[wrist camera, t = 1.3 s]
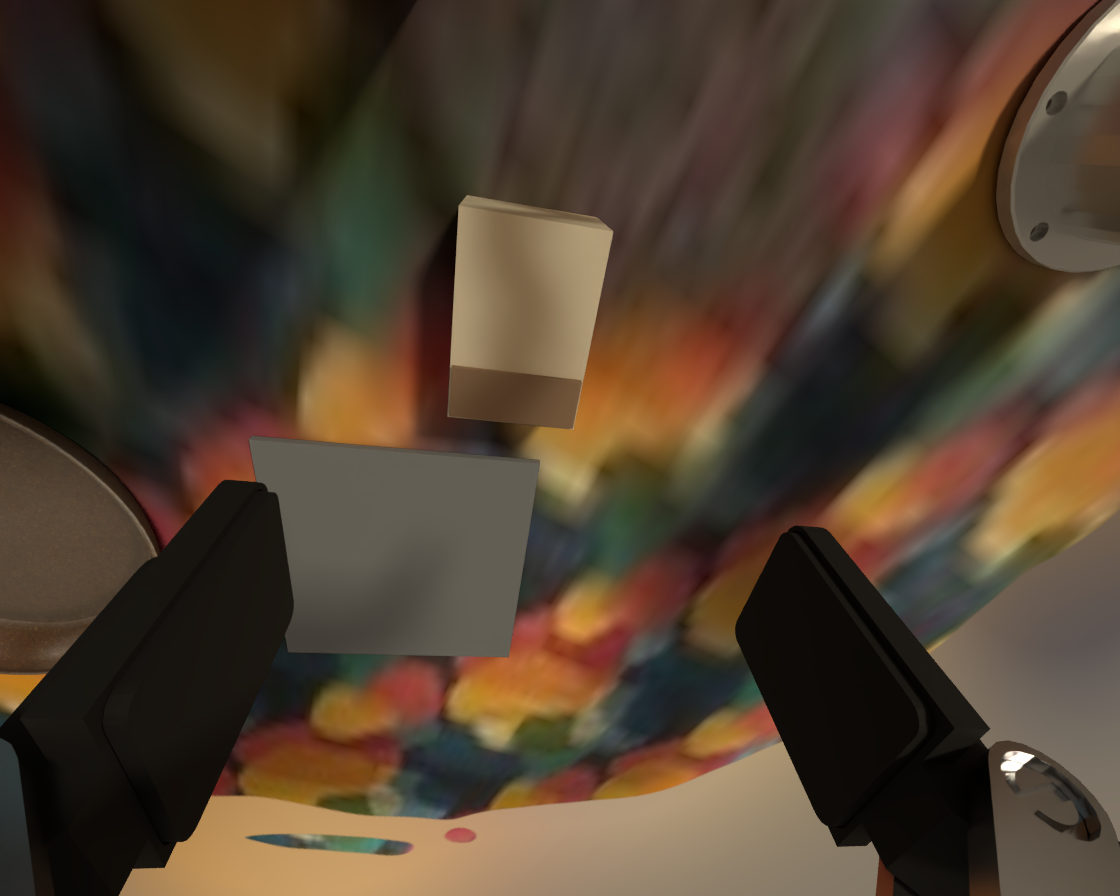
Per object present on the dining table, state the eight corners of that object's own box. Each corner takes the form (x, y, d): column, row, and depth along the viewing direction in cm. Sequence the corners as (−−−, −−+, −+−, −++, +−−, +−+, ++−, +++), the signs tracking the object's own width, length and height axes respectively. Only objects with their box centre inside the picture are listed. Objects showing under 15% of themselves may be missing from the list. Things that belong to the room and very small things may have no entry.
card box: (596, 216, 24) (614, 232, 19) (564, 390, 28) (573, 432, 24) (467, 194, 23) (457, 206, 18) (456, 377, 27) (446, 419, 23)
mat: (539, 460, 30) (539, 463, 30) (508, 652, 39) (508, 657, 39) (251, 435, 28) (248, 439, 27) (290, 647, 37) (288, 652, 36)
